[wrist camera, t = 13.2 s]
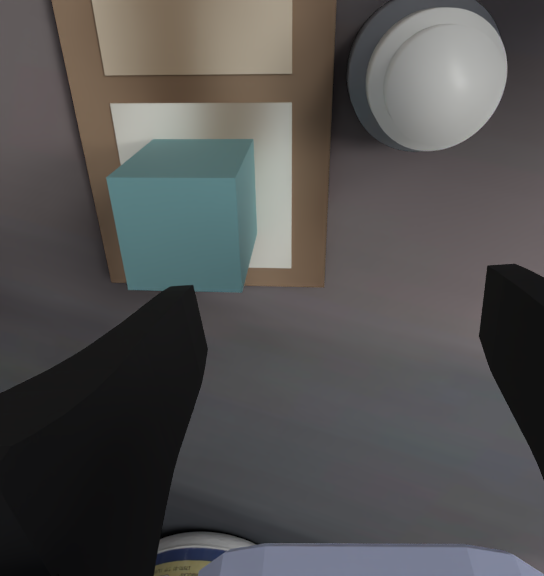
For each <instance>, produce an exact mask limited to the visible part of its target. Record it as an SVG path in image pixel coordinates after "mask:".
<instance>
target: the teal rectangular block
mask: <svg viewBox="0 0 544 576" xmlns="http://www.w3.org/2000/svg"><path fill="white" fill-rule="evenodd" d="M106 180H107V185H108V190H109V195H110V200H111V205H112V210H113V215H114V220H115V225H116V230H117V235H118V240H119V245H120V251H121V256H122V261H123V266H124V271H125V276H126V281H127V286H128V290H152V291H164V290H165V289H167V288H168V287H170V286H182V285H193V286H194V291H197V292H242V291H243V287H244V283H245V279H246V275H247V271H248V267H249V264H250V260H251V256H252V252H253V248H254V244H255V240H256V236H257V216H256V190H255V164H254V139H153V140H152V141H150V142H149V143H148V144H147V145H145V146H144V147H143V148H142V149H141V150H139V151H138V152H137V153H136V154H134V155H133V156H132V157H131V158H129V159H128V160H127V161H126V162H125V163H123V164H122V165H121V166H120V167H118V168H117V169H116V170H115V171H113V172H112V173H111V174H110V175H109V176H107V177H106Z"/></svg>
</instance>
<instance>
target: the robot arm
mask: <svg viewBox="0 0 544 576" xmlns="http://www.w3.org/2000/svg"><path fill="white" fill-rule="evenodd" d="M479 337H480V341H481V344H482V347H483V350H484V353H485V356H486V359H487V362H488V365H489V368H490V370H491V372H492V375H493V377H494V379H495V381H496V383H497V385H498V387H499V389H500V390H501V392H502V394H503V396H504V398H505V400H506V402H507V404H508V406H509V408H510V410H511V412H512V414H513V416H514V418H515V420H516V422H517V423H518V425H519V427H520V429H521V431H522V433H523V435H524V437H525V439H526V441H527V443H528V445H529V447H530V449H531V451H532V453H533V455H534V457H535V460H536V462H537V464H538V466H539V469H540V471H541V474H542V477H543V479H544V277H542V276H540V275H538V274H536V273H534V272H532V271H530V270H528V269H526V268H524V267H521V266H519V265H516V264H505V265H490V266H487V274H486V282H485V291H484V299H483V307H482V316H481V324H480V333H479ZM207 351H208V348H207V343H206V339H205V335H204V330H203V326H202V321H201V317H200V313H199V308H198V304H197V299H196V295H195V291H194V286H193V285H182V286H170V287H168V288H167V289H165V290H164V291H162V292H161V293H159V294H158V295H157V296H155V297H154V298H153V299H151V300H150V301H149V302H148V303H146V304H145V305H144V306H142V307H141V308H140V309H139V310H137V311H136V312H135V313H133V314H132V315H131V316H129V317H128V318H127V319H126V320H124V321H123V322H122V323H120V324H119V325H118V326H116V327H115V328H113V329H112V330H111V331H109V332H108V333H106V334H105V335H103V336H102V337H101V338H99V339H98V340H96V341H95V342H94V343H92V344H91V345H89V346H88V347H86V348H85V349H83V350H81V351H80V352H78V353H77V354H75V355H73V356H72V357H70V358H68V359H67V360H65V361H63V362H61V363H60V364H58V365H56V366H54V367H53V368H51V369H49V370H47V371H45V372H43V373H41V374H39V375H37V376H35V377H33V378H31V379H29V380H27V381H25V382H23V383H21V384H19V385H17V386H15V387H13V388H11V389H9V390H6V391H4V392H2V393H0V576H154V571H155V565H156V559H157V553H158V547H159V542H160V536H161V531H162V526H163V520H164V515H165V510H166V505H167V500H168V495H169V491H170V486H171V481H172V477H173V472H174V468H175V465H176V461H177V458H178V454H179V451H180V448H181V445H182V442H183V439H184V436H185V433H186V430H187V427H188V424H189V421H190V418H191V415H192V412H193V409H194V406H195V403H196V400H197V397H198V394H199V390H200V387H201V384H202V380H203V375H204V369H205V364H206V357H207ZM198 576H544V574H543V573H541V572H540V571H538V570H536V569H535V568H533V567H532V566H530V565H529V564H527V563H526V562H524V561H523V560H521V559H519V558H518V557H516V556H515V555H513V554H511V553H509V552H507V551H504V550H498V549H492V548H486V547H480V546H473V545H467V544H364V543H265V544H259V545H252V546H246V547H240V548H234V549H230V550H228V551H226V552H225V553H223V554H222V555H220V556H219V557H217V558H216V559H215V560H213V561H212V562H211V563H209V564H208V565H206V566H205V567H204V568H202V569H201V570H199V573H198Z"/></svg>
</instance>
